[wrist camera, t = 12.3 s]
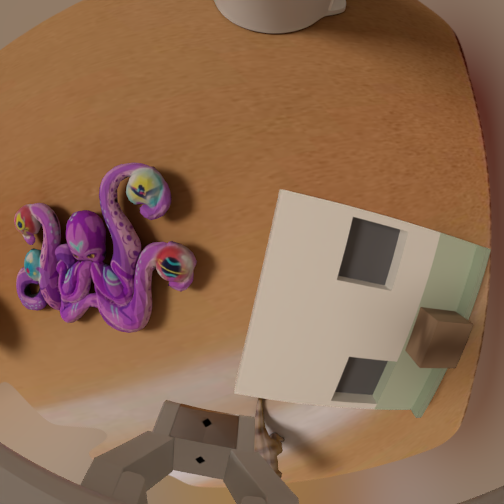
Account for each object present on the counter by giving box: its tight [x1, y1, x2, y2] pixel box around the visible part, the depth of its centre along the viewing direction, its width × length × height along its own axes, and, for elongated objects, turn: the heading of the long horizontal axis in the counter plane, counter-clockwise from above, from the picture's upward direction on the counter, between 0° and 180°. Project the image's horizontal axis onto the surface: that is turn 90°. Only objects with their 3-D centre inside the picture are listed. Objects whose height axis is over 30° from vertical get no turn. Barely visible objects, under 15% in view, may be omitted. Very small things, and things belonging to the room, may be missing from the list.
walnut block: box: [405, 307, 473, 368], centre depth 32 cm, size 6×6×4 cm
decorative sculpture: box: [14, 163, 197, 333], centre depth 34 cm, size 29×5×20 cm
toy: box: [254, 398, 284, 478], centre depth 37 cm, size 7×17×10 cm
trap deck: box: [234, 189, 491, 418], centre depth 34 cm, size 25×27×4 cm
